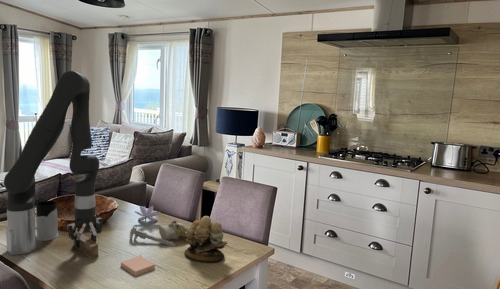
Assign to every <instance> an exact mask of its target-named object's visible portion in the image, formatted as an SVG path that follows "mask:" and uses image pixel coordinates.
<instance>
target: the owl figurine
mask: <svg viewBox="0 0 500 289" xmlns="http://www.w3.org/2000/svg"><path fill="white" fill-rule="evenodd" d="M186 229H187V228H186ZM186 233H187V240H186V241H187V243H188V244H189V246H188V247H187V248H186V249H185V251H184V253H183V254H184V257H185V258H187V259H188V260H191V261H194V262H199V263H204V264H206V263H207V264H214V263H218V262H222V260H223V259H225V253H223V252H222V250H221V249H224V248H225V246H226V245H227V244H228V241H225V240H224V241H223V239H224V233H223V231H222V223H221V222H220V221H212V219H211V217H210V216H208V215H204V216H203V217H201V219H196V220H193V222H192V224H191V225H190V226H189V227H188V229H187V231H186Z"/></svg>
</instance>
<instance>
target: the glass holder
mask: <svg viewBox="0 0 500 289" xmlns="http://www.w3.org/2000/svg"><path fill="white" fill-rule="evenodd" d="M35 204H36V207H35V208H36V213H35V224H36V226H35V231H36V241H42V242H44V241H51V240H55V239H56V238H58V237H59V236H60V235H59V233H58V208H57V201H55V200H42V201H38V202H37V203H35Z"/></svg>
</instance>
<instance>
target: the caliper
mask: <svg viewBox="0 0 500 289" xmlns="http://www.w3.org/2000/svg"><path fill="white" fill-rule="evenodd" d="M137 228H138V227H137V226H136V227H135V226H133V227H132V228H131V229H130V233H129V241H134V242H136V240H138V237H139V238H140V239H143V240H146V239H148V240H151V241H154V242H157V243H159V244H160V243H161V244H164V245H166V246H173V247H175V246H176V243H174V242H173V241H170V240H169V239H168V240H164V239H162V238H161V237H157V236H155V235H152V234H148V233H147V232H145V231H142V230H140V229H137ZM133 236H134V237H133Z"/></svg>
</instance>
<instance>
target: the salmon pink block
mask: <svg viewBox="0 0 500 289" xmlns="http://www.w3.org/2000/svg"><path fill="white" fill-rule="evenodd" d="M120 267H121V268H123V269H124V270H126V271H128V273H130V274H132V275H133V276H135V277H136V276H139V275H142V274H144V273H147V272H149V271H152V270H155V269H156V264H155V263H153V262H152V261H150V260H148V259H147V258H145V257H143V256H142V255H137V256H135V257H132V258H129V259H126V260H123V261H120Z"/></svg>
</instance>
